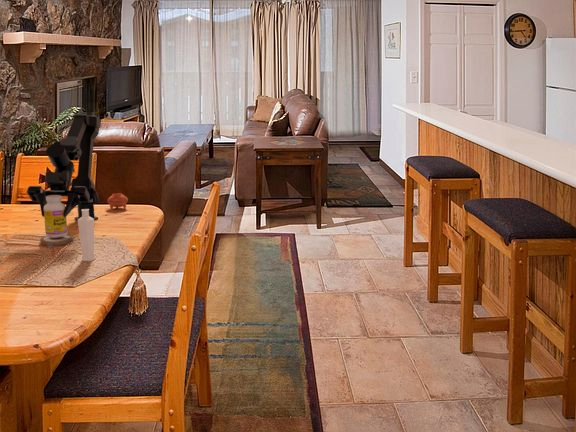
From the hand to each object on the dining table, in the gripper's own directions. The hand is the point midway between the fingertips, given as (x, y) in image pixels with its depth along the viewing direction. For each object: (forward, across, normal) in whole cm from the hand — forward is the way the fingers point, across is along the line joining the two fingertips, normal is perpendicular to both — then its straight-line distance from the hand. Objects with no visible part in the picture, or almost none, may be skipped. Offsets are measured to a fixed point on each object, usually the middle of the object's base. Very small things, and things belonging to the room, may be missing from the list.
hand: (53, 216), depth 204 cm
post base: (+5, 0, +7) cm, 9 cm away
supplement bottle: (+4, 0, +6) cm, 7 cm away
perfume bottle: (+18, +16, -6) cm, 25 cm away
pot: (-29, +7, +43) cm, 52 cm away
